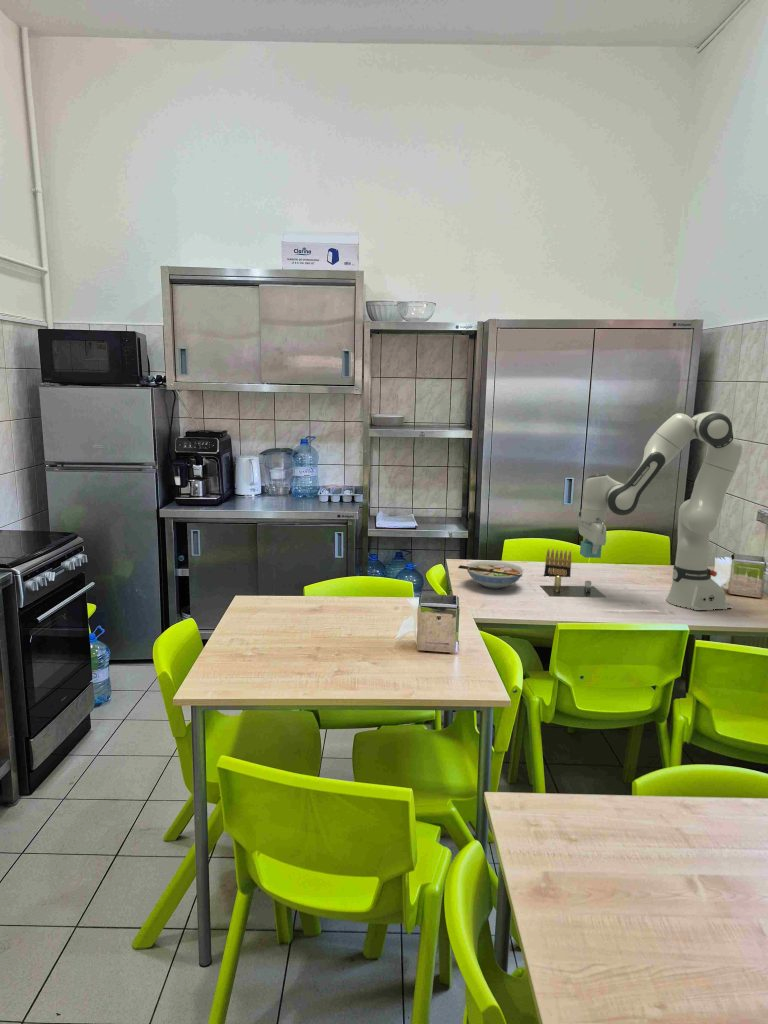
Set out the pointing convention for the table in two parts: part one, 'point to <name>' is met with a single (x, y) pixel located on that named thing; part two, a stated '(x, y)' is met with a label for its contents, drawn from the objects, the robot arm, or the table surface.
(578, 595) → the plate
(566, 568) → the ammunition clip
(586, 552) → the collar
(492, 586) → the ramen bowl
